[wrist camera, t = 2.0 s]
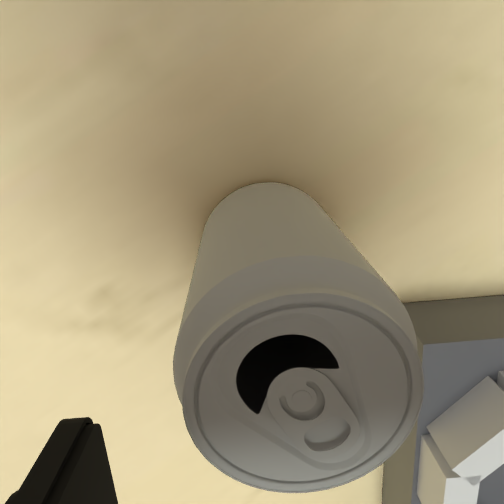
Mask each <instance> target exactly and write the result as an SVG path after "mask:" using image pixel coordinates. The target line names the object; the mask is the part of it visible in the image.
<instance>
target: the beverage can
mask: <svg viewBox="0 0 504 504" xmlns="http://www.w3.org/2000/svg"><path fill="white" fill-rule="evenodd" d="M173 373H174V382H175V387H176V390H177V394H178V397H179V400H180V402H181V404H182V407H183V415H184V420H185V423H186V427H187V430H188V432H189V434H190V436H191V438H192V440H193V442H194V444H195V445H196V447H197V448H198V450H199V451H200V452H201V453H202V455H203V456H204V457H205V458H206V459H207V460H208V461H209V462H210V463H211V464H212V465H214V466H215V467H216V468H217V469H219V470H220V471H221V472H223V473H224V474H226V475H228V476H229V477H231V478H233V479H235V480H237V481H239V482H241V483H244V484H246V485H249V486H252V487H255V488H259V489H263V490H267V491H273V492H282V493H307V492H315V491H321V490H327V489H331V488H334V487H338V486H341V485H344V484H347V483H349V482H351V481H354V480H356V479H358V478H360V477H362V476H364V475H366V474H367V473H369V472H371V471H372V470H374V469H376V468H377V467H378V466H380V465H381V464H382V463H384V462H385V461H386V460H387V459H388V458H390V457H391V456H392V455H393V454H394V453H395V452H396V451H397V449H398V448H399V447H400V446H401V445H402V444H403V442H404V441H405V440H406V438H407V437H408V435H409V434H410V432H411V430H412V429H413V427H414V425H415V423H416V421H417V418H418V416H419V413H420V410H421V406H422V402H423V395H424V375H423V369H422V365H421V361H420V358H419V356H418V349H417V340H416V334H415V330H414V327H413V324H412V321H411V319H410V316H409V314H408V312H407V310H406V308H405V307H404V305H403V304H402V302H401V301H400V299H399V298H398V297H397V295H396V294H395V293H394V292H393V291H392V289H391V288H390V287H389V286H388V285H387V284H386V282H385V281H384V280H383V279H382V278H381V277H380V275H379V274H378V273H377V272H376V271H375V270H374V268H373V267H372V266H371V265H370V264H369V263H368V261H367V260H366V259H365V258H364V257H363V256H362V254H361V253H360V252H359V251H358V250H357V249H356V247H355V246H354V245H353V244H352V243H351V242H350V240H349V239H348V238H347V237H346V236H345V235H344V233H343V232H342V231H341V230H340V229H339V228H338V226H337V225H336V224H335V223H334V222H333V221H332V219H331V218H330V217H329V216H328V215H327V214H326V212H325V211H324V210H323V209H322V208H321V207H320V205H319V204H318V203H317V202H316V201H315V200H314V199H313V198H311V197H310V196H309V195H308V194H306V193H305V192H303V191H301V190H300V189H297V188H295V187H292V186H290V185H286V184H282V183H276V182H268V183H256V184H251V185H248V186H245V187H242V188H240V189H238V190H236V191H234V192H232V193H231V194H229V195H228V196H227V197H225V198H224V199H223V200H222V201H221V202H220V203H219V204H218V205H217V206H216V207H215V209H214V210H213V211H212V213H211V214H210V216H209V218H208V220H207V222H206V224H205V227H204V230H203V234H202V238H201V242H200V246H199V251H198V255H197V259H196V263H195V267H194V271H193V275H192V279H191V284H190V288H189V292H188V296H187V300H186V304H185V308H184V313H183V317H182V321H181V325H180V329H179V333H178V337H177V341H176V346H175V351H174V359H173Z"/></svg>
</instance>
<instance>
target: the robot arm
mask: <svg viewBox="0 0 504 504" xmlns="http://www.w3.org/2000/svg"><path fill="white" fill-rule="evenodd" d="M5 504H118V501H117V497H116V492H115V488H114V483H113V479H112V474H111V470H110V465H109V461H108V456H107V452H106V447H105V443H104V438H103V434H102V429H101V426H100V425H99V424H93V421H92V419H91V418H89V417H85V418H72V419H63V420H61V421H60V422H59V423H58V425H57V426H56V428H55V430H54V432H53V433H52V435H51V437H50V438H49V440H48V442H47V443H46V445H45V447H44V448H43V450H42V452H41V453H40V455H39V457H38V458H37V460H36V462H35V464H34V465H33V467H32V469H31V470H30V472H29V474H28V475H27V477H26V479H25V480H24V482H23V484H22V485H21V487H20V489H19V490H18V491H16V492H15V493H13V494H12V495H11V496H10V497H9V499H8V500H7V501H6V503H5Z"/></svg>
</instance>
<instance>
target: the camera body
mask: <svg viewBox="0 0 504 504" xmlns="http://www.w3.org/2000/svg"><path fill="white" fill-rule="evenodd" d="M402 304H403V305H404V307H405V308H406V310H407V312H408V314H409V316H410V319H411V321H412V324H413V327H414V330H415V334H416V340H417V349H418V356H419V358H420V361H421V365H422V369H423V375H424V395H423V402H422V406H421V410H420V413H419V416H418V418H417V421H416V423H415V425H414V427H413V429H412V430H411V432H410V434H409V435H408V437H407V438H406V440H405V441H404V442H403V444H402V445H401V446H400V447H399V448H398V449H397V451H396V452H395V453H394V454H393V455H392V456H391V457H390V458H388V459H387V460H386V461H385V462H384V473H383V494H382V504H504V295H499V296H486V297H474V298H462V299H449V300H437V301H425V302H413V303H402Z"/></svg>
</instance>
